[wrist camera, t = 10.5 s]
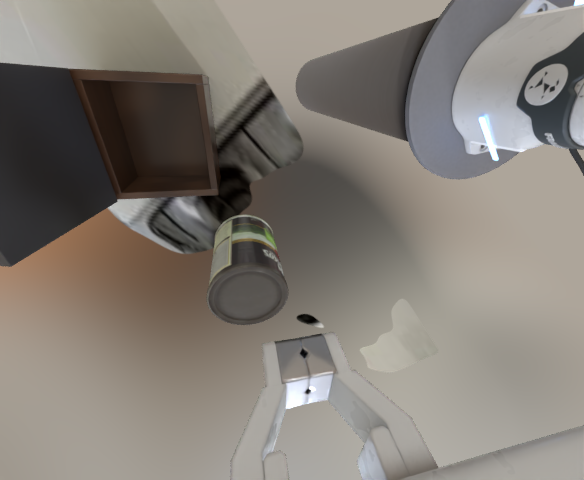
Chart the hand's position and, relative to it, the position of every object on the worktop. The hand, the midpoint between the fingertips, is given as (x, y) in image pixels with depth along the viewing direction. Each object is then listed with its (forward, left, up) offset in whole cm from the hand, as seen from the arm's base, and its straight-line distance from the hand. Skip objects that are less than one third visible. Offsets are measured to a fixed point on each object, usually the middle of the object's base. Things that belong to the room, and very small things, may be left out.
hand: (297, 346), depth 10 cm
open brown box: (+10, -3, -31) cm, 33 cm away
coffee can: (+2, +14, -31) cm, 34 cm away
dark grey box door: (+17, -3, -18) cm, 25 cm away
